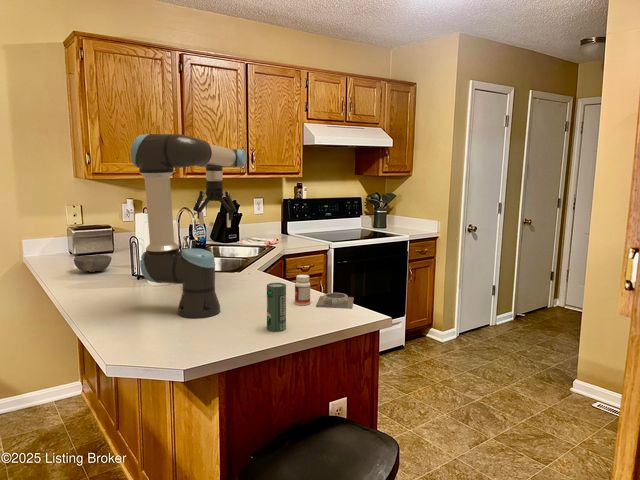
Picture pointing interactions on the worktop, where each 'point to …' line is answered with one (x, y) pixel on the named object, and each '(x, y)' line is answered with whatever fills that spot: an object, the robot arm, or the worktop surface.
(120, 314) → the worktop surface
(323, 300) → the duct flange
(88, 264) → the bowl
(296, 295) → the pill bottle
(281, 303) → the can
